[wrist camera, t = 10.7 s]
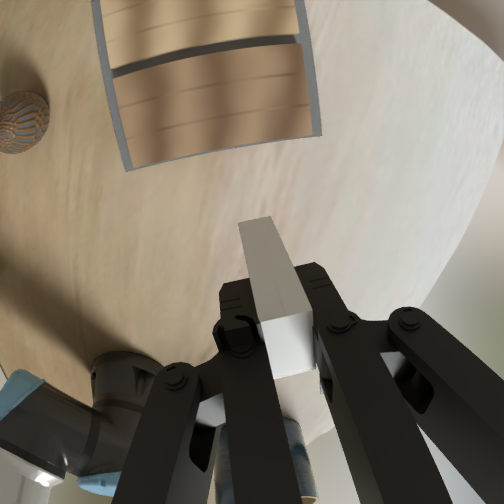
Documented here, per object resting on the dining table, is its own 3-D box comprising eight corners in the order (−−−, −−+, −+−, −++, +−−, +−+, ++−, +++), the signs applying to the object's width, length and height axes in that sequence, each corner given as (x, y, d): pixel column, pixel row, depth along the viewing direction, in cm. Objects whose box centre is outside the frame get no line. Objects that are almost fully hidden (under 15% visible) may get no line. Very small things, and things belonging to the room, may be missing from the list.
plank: (115, 68, 26) (110, 68, 24) (104, -2, 21) (99, -5, 20) (295, 34, 26) (299, 32, 25) (282, -36, 21) (285, -41, 20)
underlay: (126, 171, 32) (125, 172, 32) (92, 2, 21) (91, 1, 21) (321, 135, 32) (322, 135, 32) (295, -37, 21) (296, -38, 21)
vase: (67, 121, 28) (27, 136, 20) (30, 155, 29) (-11, 179, 21) (42, 77, 24) (-2, 81, 17) (6, 113, 26) (-38, 128, 18)
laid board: (136, 164, 31) (133, 168, 30) (116, 79, 26) (112, 78, 25) (308, 132, 32) (312, 135, 30) (297, 44, 26) (301, 43, 25)
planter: (306, 441, 71) (321, 505, 54) (227, 456, 72) (233, 519, 55) (296, 406, 60) (315, 489, 43) (198, 424, 61) (200, 506, 43)
